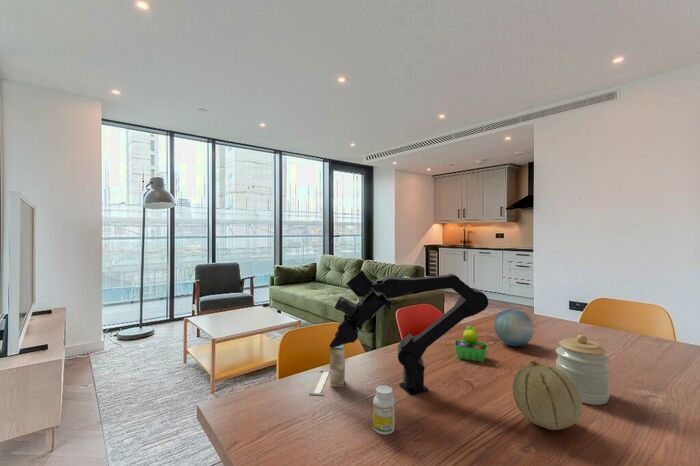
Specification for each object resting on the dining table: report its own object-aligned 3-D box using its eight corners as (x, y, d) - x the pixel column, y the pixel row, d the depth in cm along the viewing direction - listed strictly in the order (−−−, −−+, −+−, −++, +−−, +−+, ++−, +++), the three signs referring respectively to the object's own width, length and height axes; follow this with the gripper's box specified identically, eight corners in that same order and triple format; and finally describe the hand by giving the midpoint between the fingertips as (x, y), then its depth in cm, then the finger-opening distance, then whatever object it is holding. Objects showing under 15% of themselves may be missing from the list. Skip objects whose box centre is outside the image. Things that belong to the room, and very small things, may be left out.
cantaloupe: (584, 452, 70) (584, 383, 70) (509, 430, 78) (509, 368, 77) (579, 418, 82) (579, 360, 82) (514, 402, 90) (515, 349, 90)
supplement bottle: (387, 438, 74) (387, 397, 74) (368, 429, 78) (368, 389, 78) (399, 427, 78) (399, 388, 78) (381, 419, 82) (381, 381, 82)
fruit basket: (454, 359, 120) (454, 329, 120) (455, 351, 128) (455, 322, 128) (487, 364, 116) (487, 333, 116) (486, 355, 124) (486, 326, 124)
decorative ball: (534, 343, 137) (534, 308, 137) (532, 354, 125) (532, 316, 125) (496, 336, 145) (496, 304, 145) (491, 347, 133) (491, 310, 133)
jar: (594, 410, 86) (595, 345, 86) (546, 389, 98) (546, 331, 97) (618, 399, 92) (619, 337, 92) (570, 380, 104) (570, 325, 103)
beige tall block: (344, 380, 103) (344, 343, 102) (342, 386, 99) (343, 348, 99) (332, 380, 103) (332, 342, 103) (330, 386, 99) (330, 347, 99)
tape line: (320, 370, 110) (320, 370, 110) (333, 371, 109) (333, 371, 109) (308, 394, 94) (308, 394, 94) (323, 395, 93) (323, 395, 93)
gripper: (353, 284, 109) (321, 314, 111) (346, 295, 91) (308, 331, 92) (376, 308, 108) (344, 338, 110) (373, 324, 90) (334, 360, 91)
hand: (333, 341), depth 101 cm, fingers open, 9 cm apart
